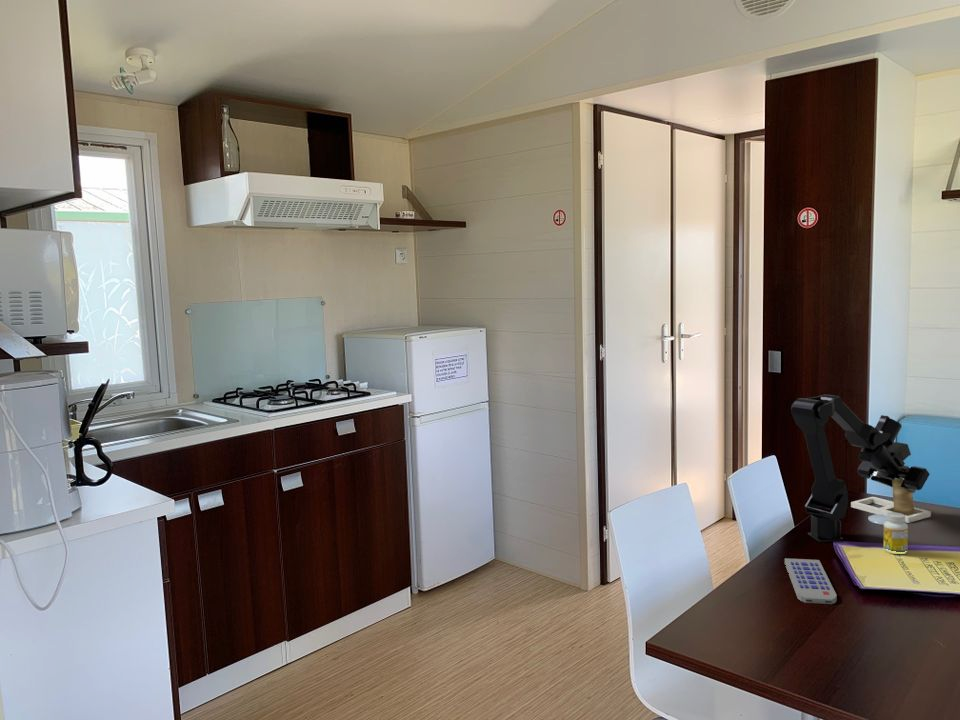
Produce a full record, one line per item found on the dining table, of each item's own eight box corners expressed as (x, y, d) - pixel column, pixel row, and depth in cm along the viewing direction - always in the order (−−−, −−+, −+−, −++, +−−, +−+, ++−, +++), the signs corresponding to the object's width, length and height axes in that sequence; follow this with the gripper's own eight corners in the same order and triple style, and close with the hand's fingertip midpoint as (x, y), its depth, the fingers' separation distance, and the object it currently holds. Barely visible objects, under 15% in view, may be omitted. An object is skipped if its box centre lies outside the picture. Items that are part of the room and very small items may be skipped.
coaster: (881, 527, 206) (881, 525, 206) (861, 517, 215) (861, 515, 215) (911, 524, 207) (911, 523, 207) (890, 514, 216) (890, 513, 216)
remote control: (819, 567, 182) (819, 558, 182) (838, 606, 160) (838, 596, 160) (784, 565, 184) (784, 557, 184) (798, 603, 162) (798, 594, 162)
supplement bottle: (909, 556, 185) (910, 518, 184) (885, 554, 187) (885, 517, 186) (905, 548, 190) (905, 512, 189) (881, 546, 192) (882, 510, 191)
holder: (908, 523, 208) (908, 517, 208) (851, 507, 224) (851, 502, 224) (930, 516, 212) (930, 511, 212) (873, 501, 229) (873, 496, 228)
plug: (902, 517, 212) (898, 468, 211) (890, 514, 217) (886, 466, 216) (918, 515, 212) (914, 467, 212) (906, 512, 217) (902, 464, 217)
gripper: (925, 440, 202) (950, 473, 208) (863, 429, 219) (888, 460, 225) (906, 473, 200) (932, 505, 206) (845, 460, 217) (871, 490, 223)
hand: (905, 489), depth 215 cm, fingers closed on plug, 5 cm apart
